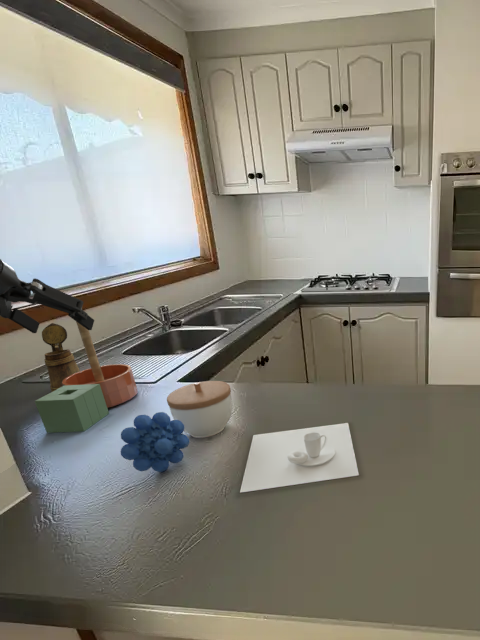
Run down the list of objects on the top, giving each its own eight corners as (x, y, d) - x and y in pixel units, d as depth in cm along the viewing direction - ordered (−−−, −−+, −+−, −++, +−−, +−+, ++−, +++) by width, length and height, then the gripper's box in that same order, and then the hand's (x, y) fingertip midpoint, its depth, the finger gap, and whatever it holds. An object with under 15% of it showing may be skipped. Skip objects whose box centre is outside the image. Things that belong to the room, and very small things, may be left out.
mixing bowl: (57, 414, 106) (46, 387, 103) (97, 390, 120) (89, 365, 117) (115, 412, 105) (107, 384, 102) (149, 387, 119) (142, 362, 116)
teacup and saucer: (288, 471, 75) (284, 451, 74) (289, 448, 82) (286, 430, 81) (337, 464, 76) (334, 444, 75) (334, 442, 83) (332, 424, 82)
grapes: (143, 495, 71) (123, 432, 67) (125, 482, 75) (105, 422, 71) (205, 462, 80) (191, 405, 75) (186, 452, 84) (172, 397, 79)
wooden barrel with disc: (88, 376, 132) (70, 320, 126) (87, 389, 121) (67, 328, 115) (54, 383, 128) (33, 325, 122) (50, 397, 117) (27, 334, 111)
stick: (99, 400, 111) (70, 310, 103) (104, 397, 113) (76, 308, 105) (106, 399, 111) (78, 310, 103) (111, 396, 113) (83, 308, 105)
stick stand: (46, 433, 96) (34, 401, 93) (74, 415, 105) (64, 385, 102) (84, 431, 96) (72, 399, 93) (109, 413, 104) (99, 383, 101)
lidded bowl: (237, 412, 100) (228, 368, 96) (238, 436, 88) (228, 388, 84) (179, 423, 96) (168, 378, 92) (173, 450, 85) (160, 400, 81)
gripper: (49, 250, 81) (118, 310, 100) (-73, 258, 83) (19, 315, 102) (37, 282, 78) (110, 337, 97) (-89, 290, 79) (8, 343, 99)
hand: (64, 326), depth 100 cm, fingers open, 13 cm apart
